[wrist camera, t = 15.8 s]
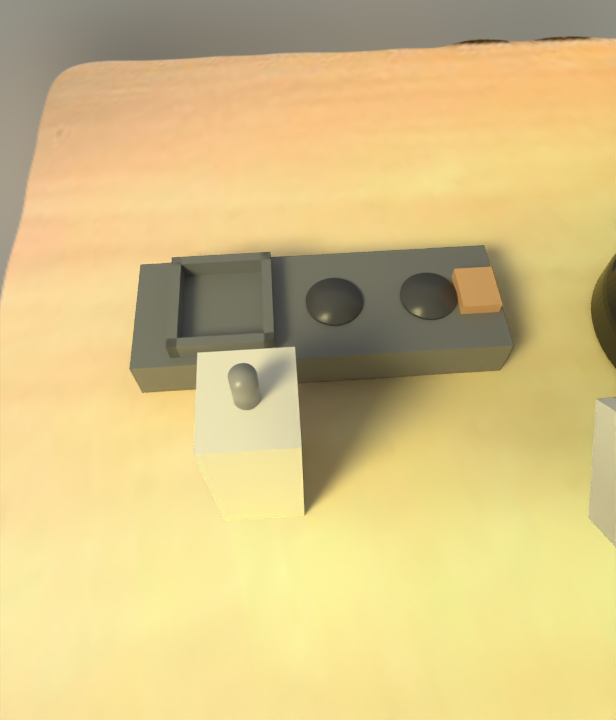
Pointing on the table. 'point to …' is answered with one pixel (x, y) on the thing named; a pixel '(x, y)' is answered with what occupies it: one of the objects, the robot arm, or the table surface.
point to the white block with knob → (250, 432)
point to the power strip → (322, 314)
